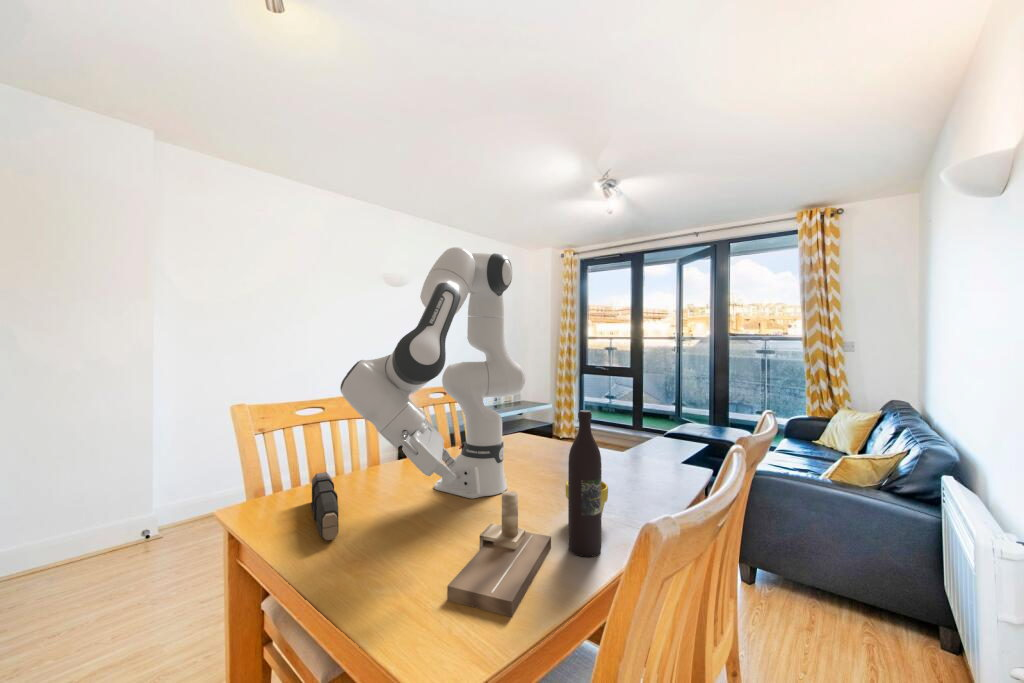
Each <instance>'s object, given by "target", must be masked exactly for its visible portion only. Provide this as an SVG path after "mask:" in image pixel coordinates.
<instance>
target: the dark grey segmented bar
mask: <svg viewBox="0 0 1024 683" xmlns="http://www.w3.org/2000/svg"><path fill="white" fill-rule="evenodd" d="M338 499H339V498H338V493H337V492H336V490H335V483H334V481H333V480H332V476H331V475H330V474H329V473H328V472H326V471H324V472H323V471H322V472H317V473H315V475H314V476H313V477H312V479H311V502H310V510H311V513H313V520H314V521H315V522H316V526H317V531H318V533H319V534H320V536H321V537H322V539H323V540H324V541H330V540H335V539H336V537H337V535H338V534H339V503H338V501H339V500H338Z"/></svg>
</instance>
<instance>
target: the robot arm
mask: <svg viewBox="0 0 1024 683" xmlns="http://www.w3.org/2000/svg"><path fill="white" fill-rule="evenodd" d="M512 279H513V267H512V262H511V261H510V259H509V258H508V257H507V256H506V255H504V254H499V253H495V252H494V253H492V254H491V253H481V252H480V253H476V252H475V253H473V252H472V253H470V252H469V251H468V250H466V249H464V248H462V247H458V246H454V247H449V248H447V249H446V250H445V251H444V252H442V254H441V255H440V256H439V257H438V258H437V260H436V261H435V263H434V264H433V265H432V267H431V269H430V270H429V272H428V274H427V276H426V277H425V280H424V282H423V285H422V288H421V292H420V296H419V298H420V301H421V303H422V305H423V306H424V308H425V309H424V311H423V312H422V315H421V317H420V319H419V320H418V323H417V325H416V326H415V328H414V329H413V330H411V331H409V332H408V333H406V334H405V335H404V336H403V337H401V338H400V339H399V341H398V343H397V345H396V346H395V348H394V350H393V351H392V352H391V354H388V355H385V356H382V357H379V358H375V359H373V358H372V359H366V360H365V359H361V360H359V361H358V360H357V362H356V363H355V364H354V365H353V366H352V367H351V368H350V369H349V371H348V372H346V375H345V376H344V377H343V379H342V381H341V383H340V388H339V390H340V393H341V395H342V397H343V398H344V399H345V401H347V403H348V404H349V405H350V406H351V407H352V408H353V409H354V410H355V411H356V412H357V413H358V414H359V416H360V417H362V418H363V419H365V420H367V421H368V422H370V423H371V424H372V425H373V427H375V429H376V432H378V433H379V434H380V435H381V436H382V437H383V438H384V440H386V441H388V442H389V444H390V445H391V446H393V447H394V448H395V449H397V448H399V447H400V446H402V448H401V450H402V452H403V454H404V455H405V456H406V457H407V458H408V460H410V462H411V463H412V464H414V466H415V467H416V468H417V469H418V470H419V471H421V473H422V474H424V475H425V476H426V477H431V476H432V475H433V474H434V473H435V474H436V475H437V476H439V477H441V478H440V479H438V480H437V481H436V482H435V484H434V490H437V491H440V492H445V493H447V494H451V495H456V496H459V497H463V498H467V499H477V498H481V497H488V496H494V495H499V494H502V493H503V492H505V491H507V489H508V484H507V480H506V476H505V470H504V458H505V448H504V447H505V445H504V441H503V418H502V416H501V414H500V413H499V412H498V411H496V410H494V409H493V408H491V407H488V406H486V405H485V404H484V403H485V402H484V398H493V397H494V398H496V397H497V398H498V397H500V398H501V397H509V396H512V395H517V394H520V393H521V391H522V390H523V388H524V386H525V382H526V375H525V371H524V369H523V367H522V366H521V364H519V363H518V362H516V361H515V359H513V358H512V357H511V355H510V353H509V351H508V349H507V345H506V344H505V326H504V325H505V324H504V323H505V322H504V321H505V308H504V307H505V305H504V295H503V294H504V292H506V291H507V289H508V288H509V287H510V285H511V283H512V281H513V280H512ZM468 295H469V299H468V307H467V330H466V331H467V334H466V335H467V336H466V338H467V340H468V343H469V345H470V346H471V347H472V348H474V349H476V350H478V351H480V352H482V353H484V355H485V361H461V362H457V363H456V362H455V363H452V364H448V366H447V367H446V368H445V370H443V369H444V367H445V364H446V360H447V359H446V354H447V353H446V340H447V335H448V333H449V330H450V328H451V325H452V322H453V319H454V317H455V315H457V313H458V312H460V309H462V306H463V305H464V303H465V301H466V299H467V297H468ZM442 371H444V372H443V373H442ZM441 373H442V378H441V381H442V382H441V384H442V387H443V389H444V391H445V392H446V394H447V395H449V397H451V398H452V400H453V399H454V401H456V403H457V404H458V405H459V406H460V409H461V410H462V412H463V415H464V419H465V430H466V431H465V432H466V433H465V434H466V437H465V438H466V439H465V441H464V442H462V443H461V444H460V445H459V446H458V450H460V449H461V452H460V454H458V455H457V456H455V458H454V457H453V456H451V454H450V452H449V451H448V450H447V449H446V447H444V443H445V440H444V437H443V436H442V435H441V434H440V432H439V431H438V430H437V429H436V427H434V425H433V424H432V423H431V422H430V421H429V420H428V419H427V417H428V415H427V414H426V413H425V412H424V411H423V410H422V409H420V408H419V407H418V405H416V404H415V403H414V402H413V400H411V399H410V396H411V395H414V394H415V393H417V392H418V391H419V390H421V389H422V388H423V387H424V386H426V385H427V384H428V382H431V381H432V380H433V379H435V378H436V377H438V376H439V375H440V374H441Z"/></svg>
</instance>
